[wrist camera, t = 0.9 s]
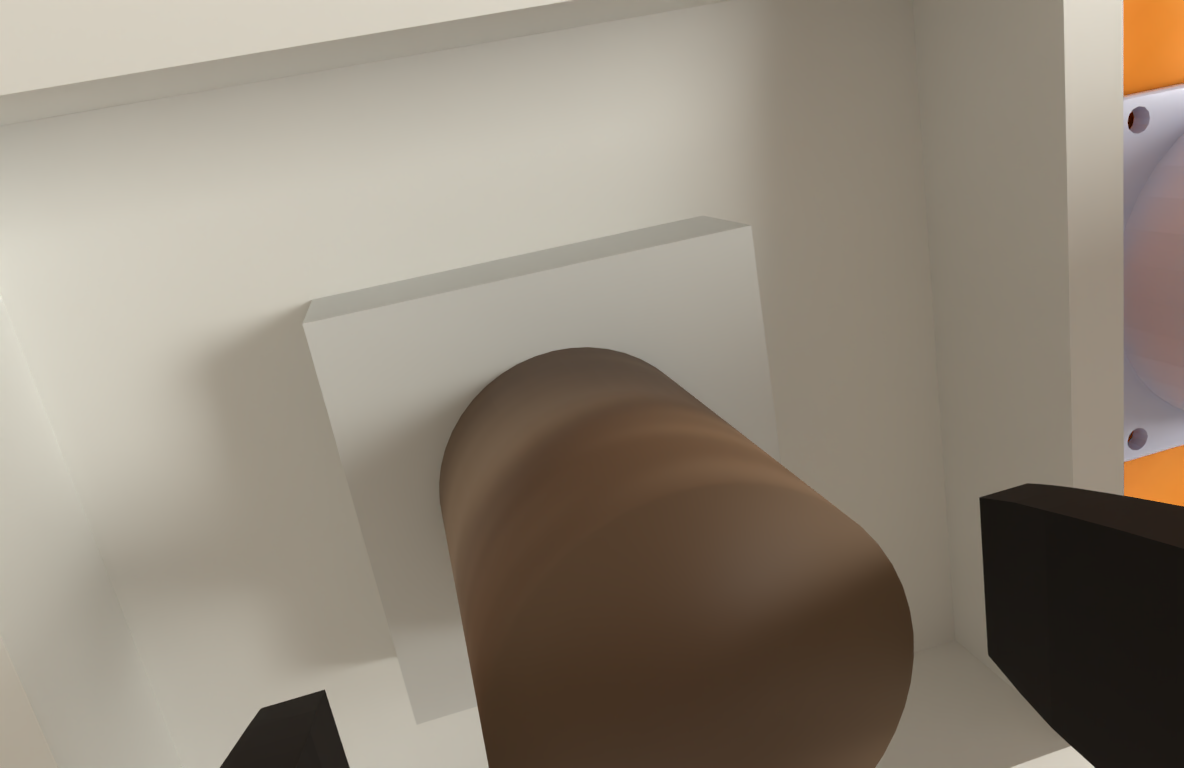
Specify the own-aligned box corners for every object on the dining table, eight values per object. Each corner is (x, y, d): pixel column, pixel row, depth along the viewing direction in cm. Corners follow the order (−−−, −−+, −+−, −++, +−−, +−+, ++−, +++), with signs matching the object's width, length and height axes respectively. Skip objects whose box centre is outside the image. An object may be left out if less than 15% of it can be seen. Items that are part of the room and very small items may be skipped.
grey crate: (930, -89, 16) (1122, -171, 12) (973, 645, 21) (1124, 770, 17) (-134, 81, 13) (-371, 50, 9) (194, 898, 18) (138, 1128, 14)
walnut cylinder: (688, 318, 14) (897, 431, 8) (725, 566, 15) (928, 806, 10) (409, 385, 13) (433, 557, 8) (473, 639, 15) (535, 945, 9)
